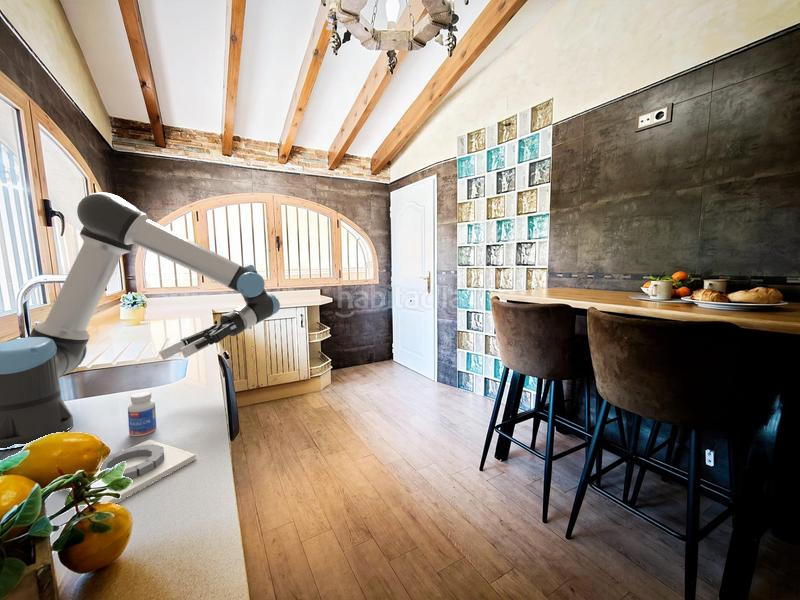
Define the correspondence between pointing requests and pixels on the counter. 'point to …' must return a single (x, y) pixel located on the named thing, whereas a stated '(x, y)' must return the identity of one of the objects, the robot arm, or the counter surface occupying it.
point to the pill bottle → (141, 414)
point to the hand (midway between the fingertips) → (171, 354)
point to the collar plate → (156, 474)
